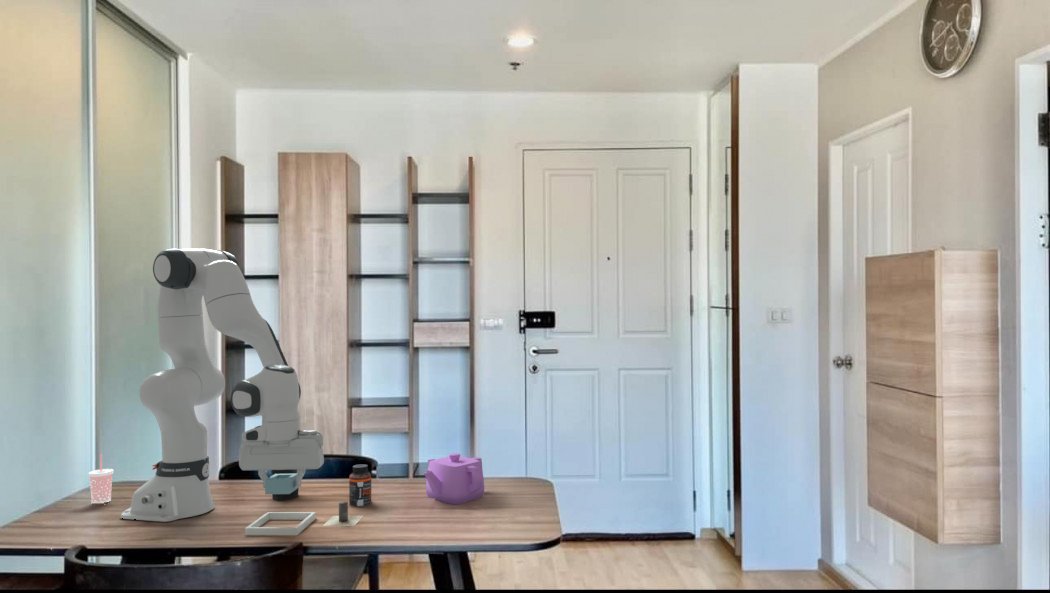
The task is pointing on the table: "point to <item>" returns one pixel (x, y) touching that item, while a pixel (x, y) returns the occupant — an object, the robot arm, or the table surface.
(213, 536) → the table surface
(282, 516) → the white square frame
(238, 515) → the table surface
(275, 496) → the travel mug
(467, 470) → the teakettle
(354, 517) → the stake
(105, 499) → the beverage cup
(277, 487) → the collar
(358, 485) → the supplement bottle
